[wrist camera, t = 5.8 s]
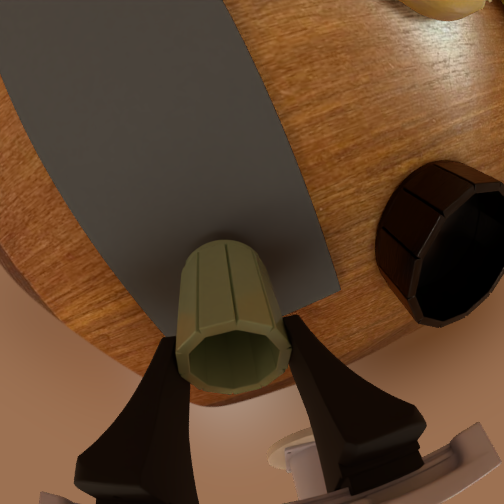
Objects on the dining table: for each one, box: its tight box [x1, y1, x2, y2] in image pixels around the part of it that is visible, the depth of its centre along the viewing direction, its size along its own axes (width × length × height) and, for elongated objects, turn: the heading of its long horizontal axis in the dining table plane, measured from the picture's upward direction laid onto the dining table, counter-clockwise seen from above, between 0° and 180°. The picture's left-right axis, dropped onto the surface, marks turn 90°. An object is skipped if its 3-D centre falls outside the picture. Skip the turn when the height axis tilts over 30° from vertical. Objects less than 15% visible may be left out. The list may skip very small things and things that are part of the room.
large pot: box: [375, 161, 504, 328], centre depth 17 cm, size 10×10×4 cm
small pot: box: [175, 240, 292, 395], centre depth 14 cm, size 4×5×6 cm
